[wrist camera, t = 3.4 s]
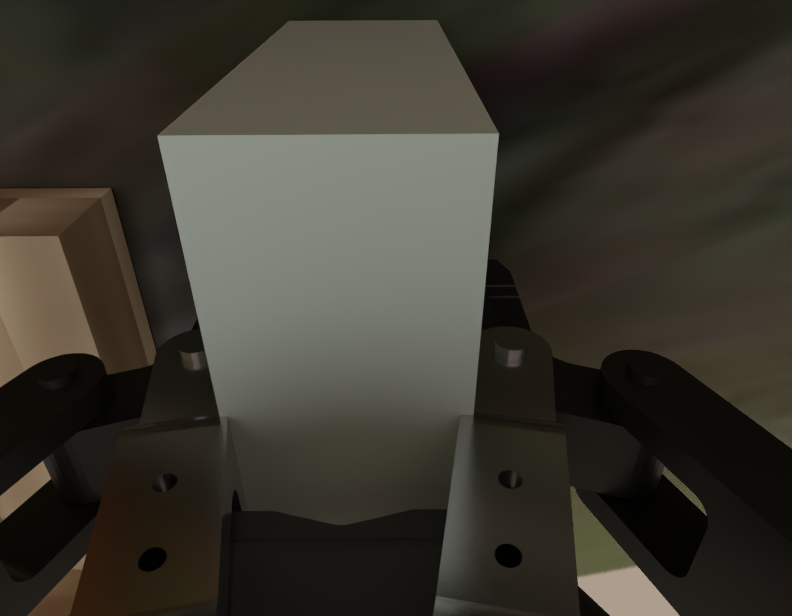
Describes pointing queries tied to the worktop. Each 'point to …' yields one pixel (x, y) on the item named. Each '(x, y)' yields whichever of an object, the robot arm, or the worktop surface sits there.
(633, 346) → the worktop surface
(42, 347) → the track
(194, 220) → the door panel
